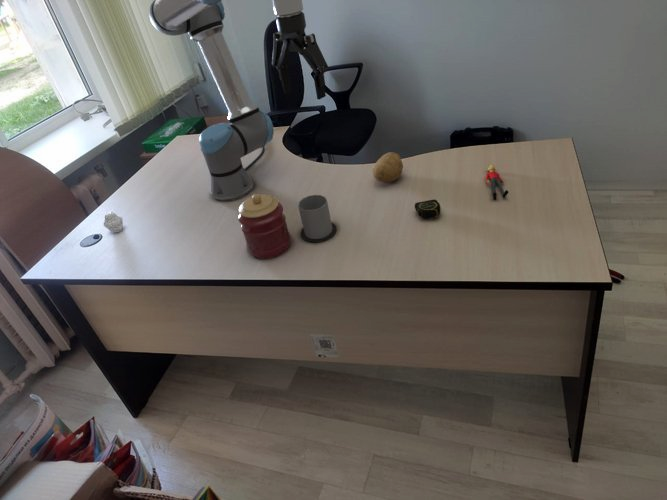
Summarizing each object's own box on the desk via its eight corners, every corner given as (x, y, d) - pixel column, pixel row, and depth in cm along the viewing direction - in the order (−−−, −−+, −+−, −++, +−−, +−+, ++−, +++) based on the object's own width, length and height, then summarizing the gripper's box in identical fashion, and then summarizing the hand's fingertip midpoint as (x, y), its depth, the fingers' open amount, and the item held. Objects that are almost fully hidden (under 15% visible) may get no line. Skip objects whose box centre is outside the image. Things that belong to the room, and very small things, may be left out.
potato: (408, 169, 165) (406, 147, 160) (397, 190, 155) (396, 168, 150) (381, 167, 169) (379, 147, 164) (369, 188, 158) (366, 167, 154)
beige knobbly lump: (108, 229, 164) (99, 212, 160) (126, 222, 166) (117, 205, 161) (108, 237, 159) (99, 220, 155) (127, 231, 161) (118, 214, 157)
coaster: (297, 227, 146) (296, 226, 146) (331, 217, 148) (331, 216, 148) (305, 247, 138) (304, 245, 138) (341, 236, 139) (340, 235, 139)
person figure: (493, 187, 139) (485, 158, 153) (488, 198, 142) (481, 169, 156) (510, 191, 139) (501, 161, 153) (505, 202, 142) (496, 172, 156)
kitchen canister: (274, 264, 134) (258, 211, 123) (239, 254, 140) (222, 203, 129) (300, 237, 142) (287, 186, 131) (266, 229, 148) (252, 180, 138)
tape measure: (437, 207, 143) (436, 196, 141) (443, 219, 138) (443, 208, 136) (414, 211, 144) (414, 200, 141) (420, 223, 138) (419, 212, 136)
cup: (336, 223, 144) (330, 195, 138) (327, 239, 138) (321, 211, 132) (310, 222, 147) (304, 194, 141) (300, 237, 141) (293, 209, 135)
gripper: (334, 11, 117) (345, 95, 130) (268, 8, 132) (284, 84, 145) (313, 19, 113) (327, 105, 126) (248, 16, 128) (266, 93, 141)
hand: (304, 94), depth 135 cm, fingers open, 13 cm apart
